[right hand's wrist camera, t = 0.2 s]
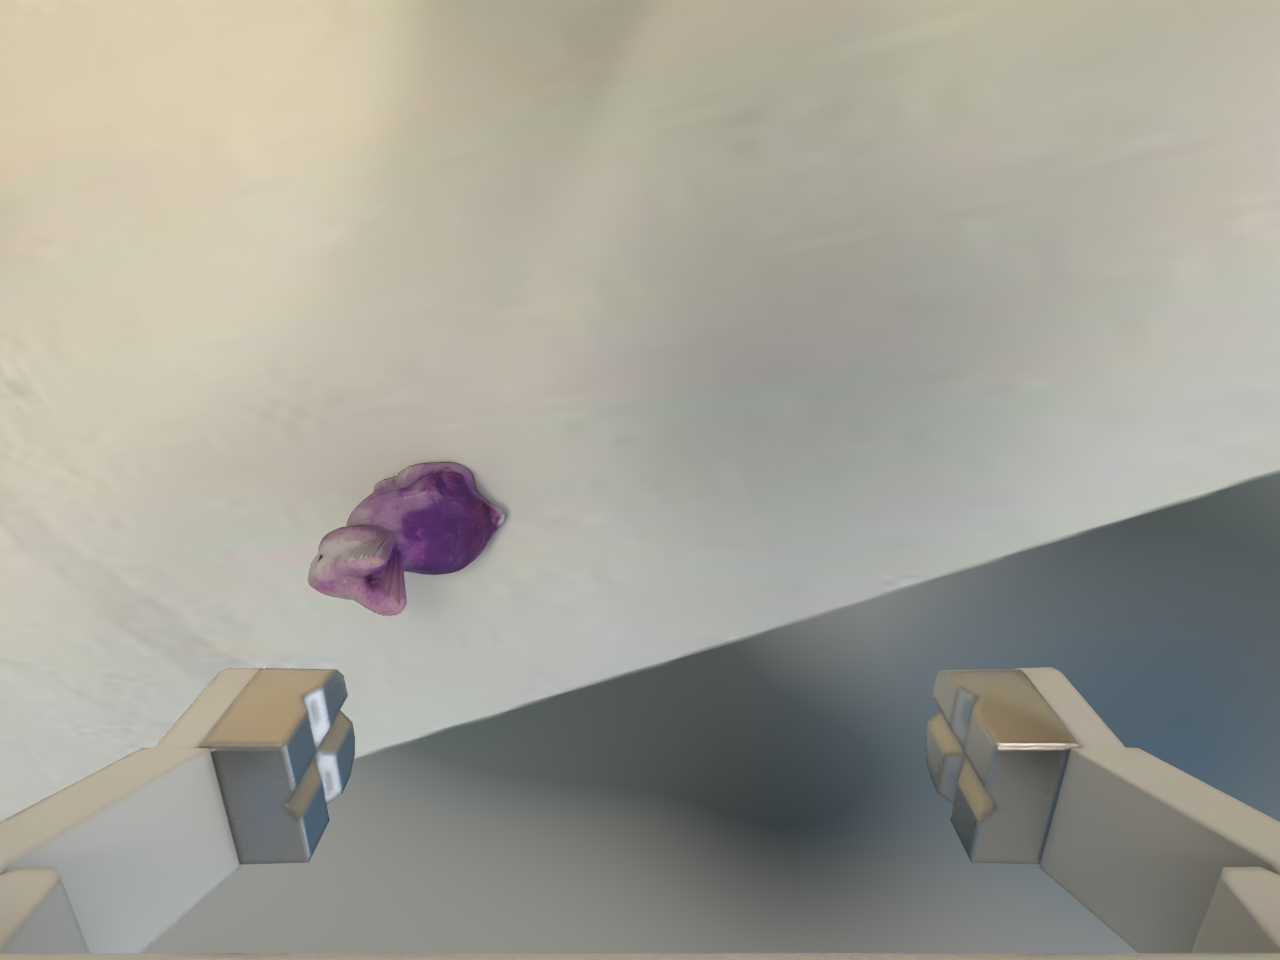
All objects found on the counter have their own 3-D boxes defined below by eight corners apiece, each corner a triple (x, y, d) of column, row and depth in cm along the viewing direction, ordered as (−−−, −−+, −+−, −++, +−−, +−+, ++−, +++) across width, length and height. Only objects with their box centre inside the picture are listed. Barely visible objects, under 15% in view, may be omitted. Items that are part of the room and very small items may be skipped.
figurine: (344, 510, 62) (257, 607, 48) (426, 427, 59) (361, 505, 45) (432, 584, 64) (375, 697, 50) (515, 508, 62) (479, 605, 48)
